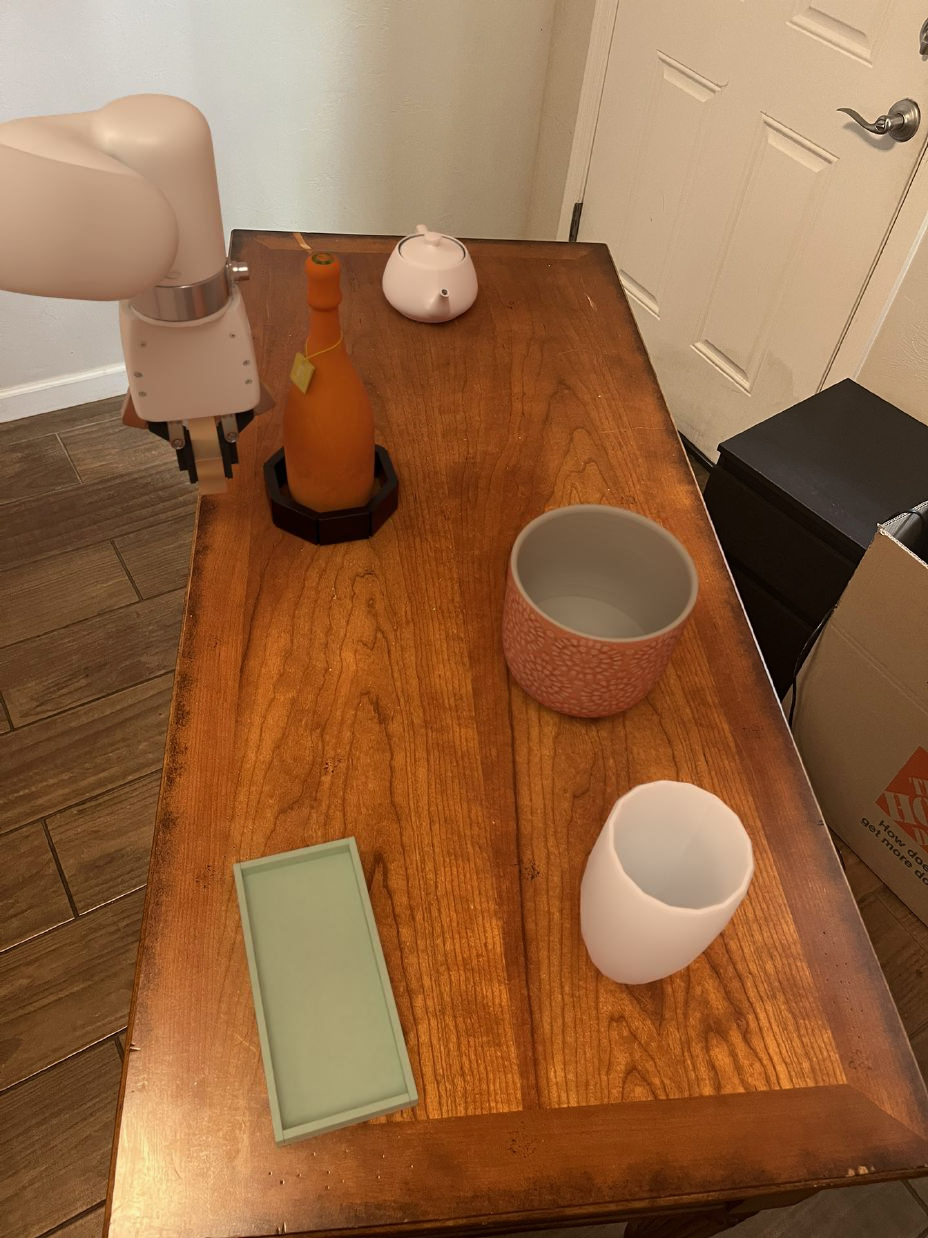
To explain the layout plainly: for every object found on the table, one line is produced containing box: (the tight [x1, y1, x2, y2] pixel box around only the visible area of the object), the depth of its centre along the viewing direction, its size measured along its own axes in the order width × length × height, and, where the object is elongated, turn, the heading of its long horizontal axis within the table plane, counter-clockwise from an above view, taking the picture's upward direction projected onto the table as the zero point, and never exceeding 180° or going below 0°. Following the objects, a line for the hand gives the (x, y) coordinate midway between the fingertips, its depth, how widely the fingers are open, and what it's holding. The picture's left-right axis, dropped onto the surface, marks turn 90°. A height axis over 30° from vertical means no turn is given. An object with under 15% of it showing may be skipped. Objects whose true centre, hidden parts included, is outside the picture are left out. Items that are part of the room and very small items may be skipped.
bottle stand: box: [262, 443, 400, 547], centre depth 108 cm, size 14×14×4 cm
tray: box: [232, 835, 419, 1149], centre depth 73 cm, size 10×21×2 cm, turn 17°
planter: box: [501, 503, 700, 719], centre depth 90 cm, size 17×17×15 cm
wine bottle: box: [282, 252, 376, 513], centre depth 98 cm, size 10×10×30 cm
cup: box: [579, 779, 756, 986], centre depth 68 cm, size 10×10×22 cm
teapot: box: [382, 223, 479, 324], centre depth 133 cm, size 22×14×11 cm, turn 11°
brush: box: [186, 416, 229, 496], centre depth 89 cm, size 18×6×4 cm, turn 17°
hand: (209, 469), depth 84 cm, fingers closed on brush, 2 cm apart
